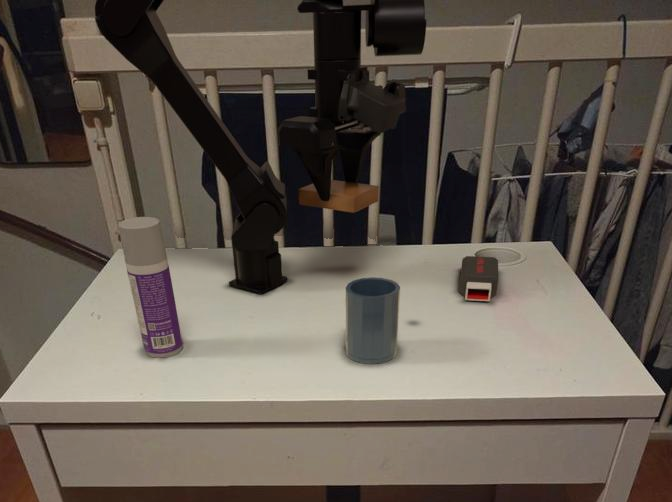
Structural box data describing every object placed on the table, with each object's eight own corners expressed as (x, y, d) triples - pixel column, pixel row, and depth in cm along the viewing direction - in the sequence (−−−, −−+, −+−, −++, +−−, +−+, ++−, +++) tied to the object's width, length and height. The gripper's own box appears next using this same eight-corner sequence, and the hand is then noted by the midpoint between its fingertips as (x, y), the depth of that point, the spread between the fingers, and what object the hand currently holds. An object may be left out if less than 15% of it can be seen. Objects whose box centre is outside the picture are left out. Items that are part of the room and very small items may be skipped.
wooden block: (298, 204, 86) (298, 189, 85) (324, 193, 90) (324, 178, 89) (354, 213, 82) (354, 196, 81) (378, 201, 86) (379, 185, 85)
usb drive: (496, 272, 94) (498, 253, 92) (496, 303, 84) (499, 283, 83) (461, 270, 95) (463, 252, 93) (457, 301, 85) (459, 281, 84)
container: (189, 343, 78) (168, 217, 68) (171, 360, 74) (146, 230, 65) (157, 338, 79) (132, 215, 70) (137, 355, 76) (108, 227, 66)
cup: (336, 355, 74) (335, 290, 69) (363, 337, 78) (364, 273, 73) (379, 368, 71) (382, 301, 66) (405, 348, 75) (409, 283, 70)
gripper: (353, 67, 66) (352, 220, 76) (431, 52, 78) (421, 186, 88) (271, 65, 71) (280, 209, 81) (355, 51, 83) (354, 178, 93)
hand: (338, 195), depth 85 cm, fingers closed on wooden block, 6 cm apart
